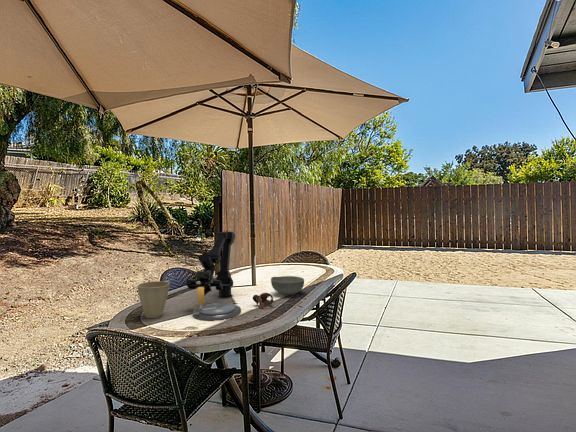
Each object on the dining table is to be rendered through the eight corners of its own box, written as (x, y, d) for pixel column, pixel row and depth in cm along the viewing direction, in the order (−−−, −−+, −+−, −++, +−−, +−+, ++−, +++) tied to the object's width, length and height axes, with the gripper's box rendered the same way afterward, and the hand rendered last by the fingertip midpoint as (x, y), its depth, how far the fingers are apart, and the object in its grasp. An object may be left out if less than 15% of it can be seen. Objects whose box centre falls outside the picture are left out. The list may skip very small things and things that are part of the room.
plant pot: (151, 322, 165) (150, 289, 164) (131, 317, 172) (130, 285, 172) (176, 314, 177) (175, 282, 177) (157, 309, 185) (156, 279, 185)
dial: (229, 303, 190) (229, 280, 190) (239, 312, 174) (239, 287, 173) (194, 307, 182) (194, 284, 182) (201, 317, 166) (201, 291, 165)
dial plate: (223, 303, 195) (223, 300, 195) (250, 312, 178) (250, 309, 178) (183, 313, 178) (183, 310, 178) (208, 324, 161) (208, 320, 161)
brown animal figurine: (274, 304, 194) (276, 293, 190) (269, 316, 186) (271, 305, 182) (254, 298, 196) (255, 287, 192) (248, 310, 188) (249, 299, 184)
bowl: (291, 300, 200) (291, 283, 199) (264, 295, 212) (264, 279, 212) (310, 293, 216) (310, 277, 215) (284, 288, 228) (284, 273, 228)
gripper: (186, 264, 183) (176, 290, 172) (220, 264, 179) (212, 291, 169) (193, 276, 191) (184, 301, 180) (226, 276, 187) (218, 303, 177)
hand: (199, 299), depth 176 cm, fingers closed
